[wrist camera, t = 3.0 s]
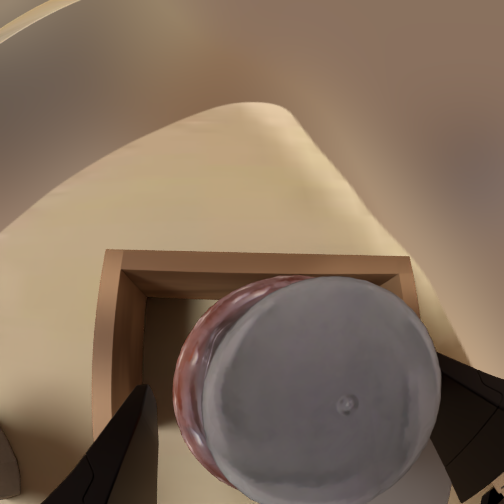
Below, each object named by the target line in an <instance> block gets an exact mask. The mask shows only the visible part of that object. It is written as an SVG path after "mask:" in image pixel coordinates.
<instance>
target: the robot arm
mask: <svg viewBox="0 0 504 504" xmlns="http://www.w3.org/2000/svg"><path fill="white" fill-rule="evenodd" d="M436 353H437V357H438V361H439V366H440V370H441V401H440V406H439V411H438V415H437V418H436V422H435V425H434V428H433V430H432V433H431V436H430V439H431V441H432V443H433V445H434V447H435V449H436V451H437V453H438V455H439V457H440V459H441V461H442V463H443V465H444V467H445V470H446V472H447V474H448V476H449V478H450V480H451V483H452V485H453V487H454V489H455V491H456V494H457V496H458V498H459V500H460V502H461V503H463V502H465V501H466V500H468V499H469V498H471V497H472V496H474V495H475V494H477V493H478V492H479V491H481V490H482V489H483V488H485V487H486V486H487V485H489V484H490V483H492V485H493V487H492V488H491V489H490V490H489V491H488V492H486V493H485V494H484V495H483V496H482V500H481V504H504V379H501V378H498V377H495V376H492V375H489V374H487V373H484V372H482V371H480V370H477V369H475V368H473V367H470V366H468V365H466V364H463V363H461V362H459V361H456V360H454V359H452V358H449V357H447V356H445V355H442V354H440V353H438V352H436ZM158 445H159V441H158V425H157V405H156V400H155V397H154V395H153V392H152V390H151V388H150V386H149V385H148V384H139V385H136V386H135V388H134V389H133V390H132V392H131V393H130V394H129V396H128V397H127V398H126V400H125V401H124V402H123V404H122V405H121V406H120V408H119V409H118V410H117V412H116V413H115V414H114V416H113V417H112V418H111V420H110V421H109V422H108V424H107V425H106V426H105V428H104V429H103V430H102V432H101V433H100V435H99V436H98V437H97V439H96V440H95V441H94V443H93V444H92V445H91V447H90V448H89V449H88V451H87V452H86V455H84V456H83V457H82V459H81V460H80V462H79V463H78V464H77V465H76V467H75V468H74V469H73V470H72V472H71V473H70V474H69V475H68V476H67V477H66V478H65V480H64V481H63V482H62V483H61V484H60V485H59V486H58V487H57V488H56V489H55V490H54V491H53V492H52V493H51V494H50V495H49V496H48V497H47V498H46V499H45V500H44V501H43V502H42V503H41V504H157V469H158Z"/></svg>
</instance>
